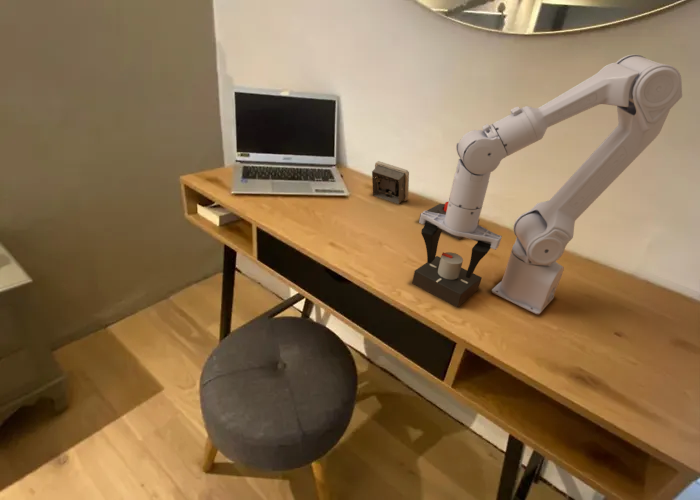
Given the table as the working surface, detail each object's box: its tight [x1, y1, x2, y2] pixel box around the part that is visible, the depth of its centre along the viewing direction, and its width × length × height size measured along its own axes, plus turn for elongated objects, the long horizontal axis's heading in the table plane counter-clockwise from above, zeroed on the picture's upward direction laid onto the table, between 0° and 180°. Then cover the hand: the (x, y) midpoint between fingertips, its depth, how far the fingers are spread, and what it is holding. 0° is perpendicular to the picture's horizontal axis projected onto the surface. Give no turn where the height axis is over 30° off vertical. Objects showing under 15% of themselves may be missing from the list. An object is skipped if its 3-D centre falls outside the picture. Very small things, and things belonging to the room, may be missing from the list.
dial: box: [438, 251, 464, 280], centre depth 88 cm, size 4×4×4 cm
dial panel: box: [411, 255, 482, 308], centre depth 90 cm, size 10×8×3 cm
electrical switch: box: [371, 160, 410, 205], centre depth 120 cm, size 9×5×9 cm, turn 57°
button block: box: [418, 203, 480, 240], centre depth 112 cm, size 11×9×4 cm
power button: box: [444, 200, 449, 212], centre depth 110 cm, size 4×4×2 cm
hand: (449, 267), depth 88 cm, fingers open, 7 cm apart
